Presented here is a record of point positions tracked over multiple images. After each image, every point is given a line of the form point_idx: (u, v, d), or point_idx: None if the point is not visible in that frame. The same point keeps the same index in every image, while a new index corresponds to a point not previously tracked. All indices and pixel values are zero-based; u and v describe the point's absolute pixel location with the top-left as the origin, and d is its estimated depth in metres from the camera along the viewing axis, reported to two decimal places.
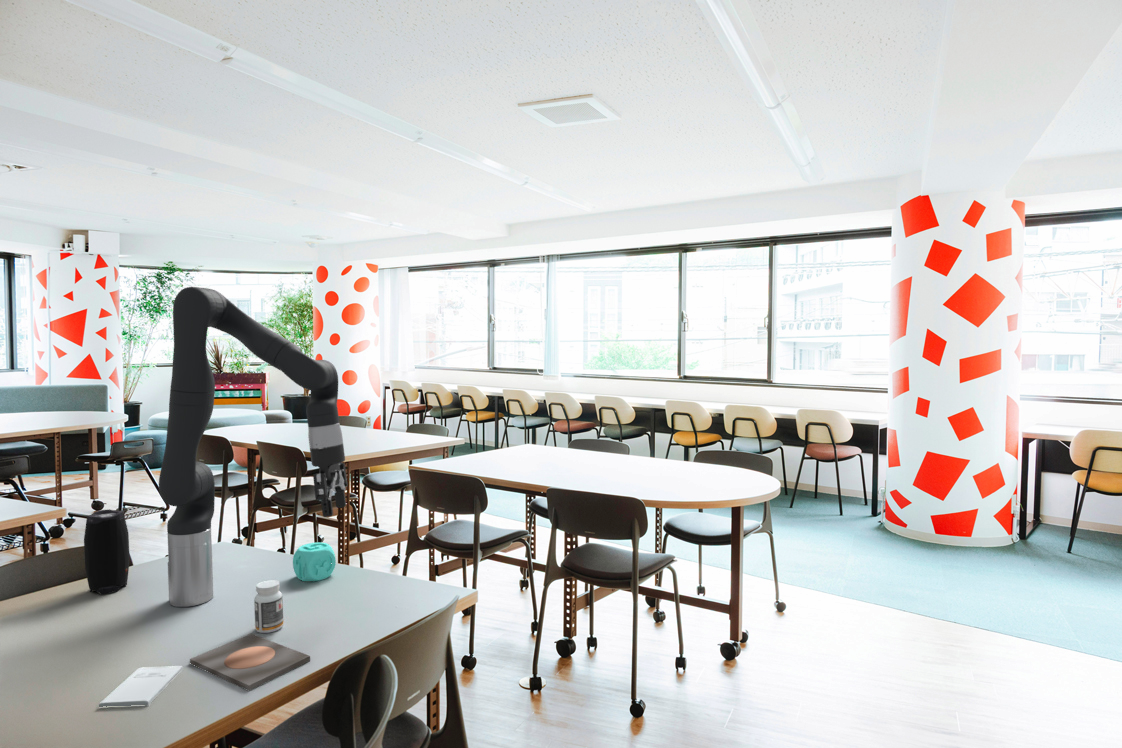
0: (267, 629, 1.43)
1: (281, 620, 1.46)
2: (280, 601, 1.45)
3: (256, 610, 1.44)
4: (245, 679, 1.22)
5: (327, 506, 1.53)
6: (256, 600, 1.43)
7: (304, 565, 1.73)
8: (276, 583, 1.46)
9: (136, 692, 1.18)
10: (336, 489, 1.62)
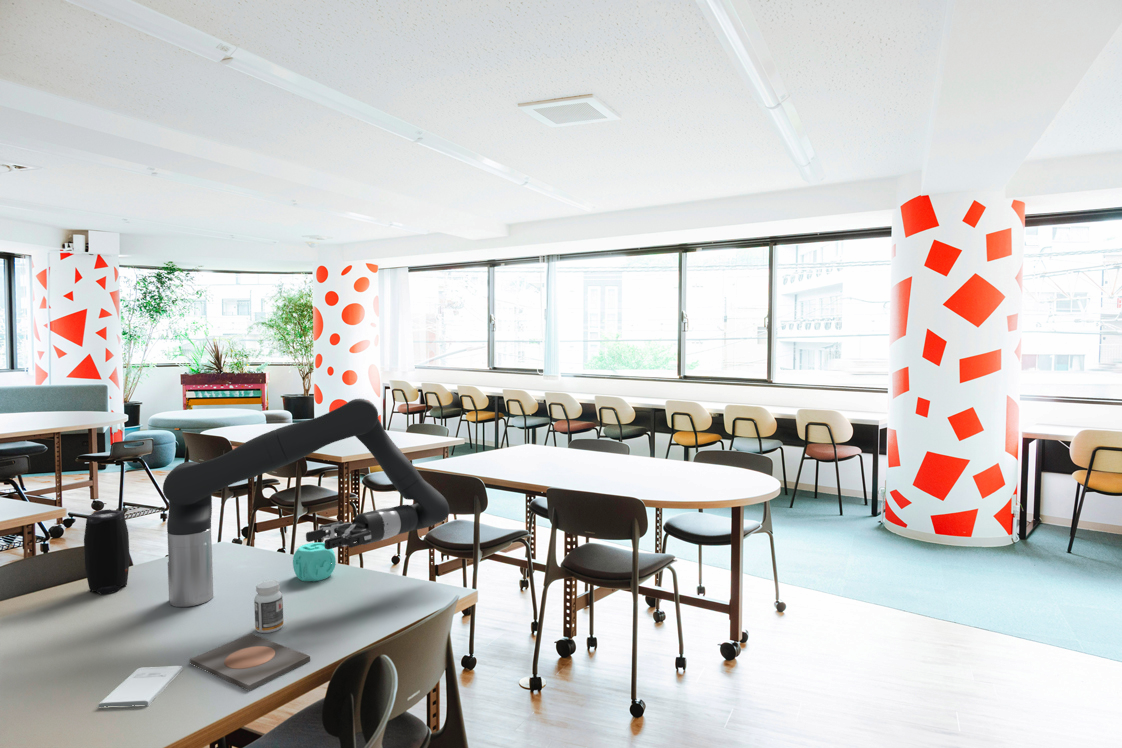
0: (267, 629, 1.43)
1: (281, 620, 1.46)
2: (280, 601, 1.45)
3: (256, 610, 1.44)
4: (245, 679, 1.22)
5: (337, 545, 1.52)
6: (256, 600, 1.43)
7: (304, 565, 1.73)
8: (276, 583, 1.46)
9: (135, 692, 1.18)
10: (324, 530, 1.59)
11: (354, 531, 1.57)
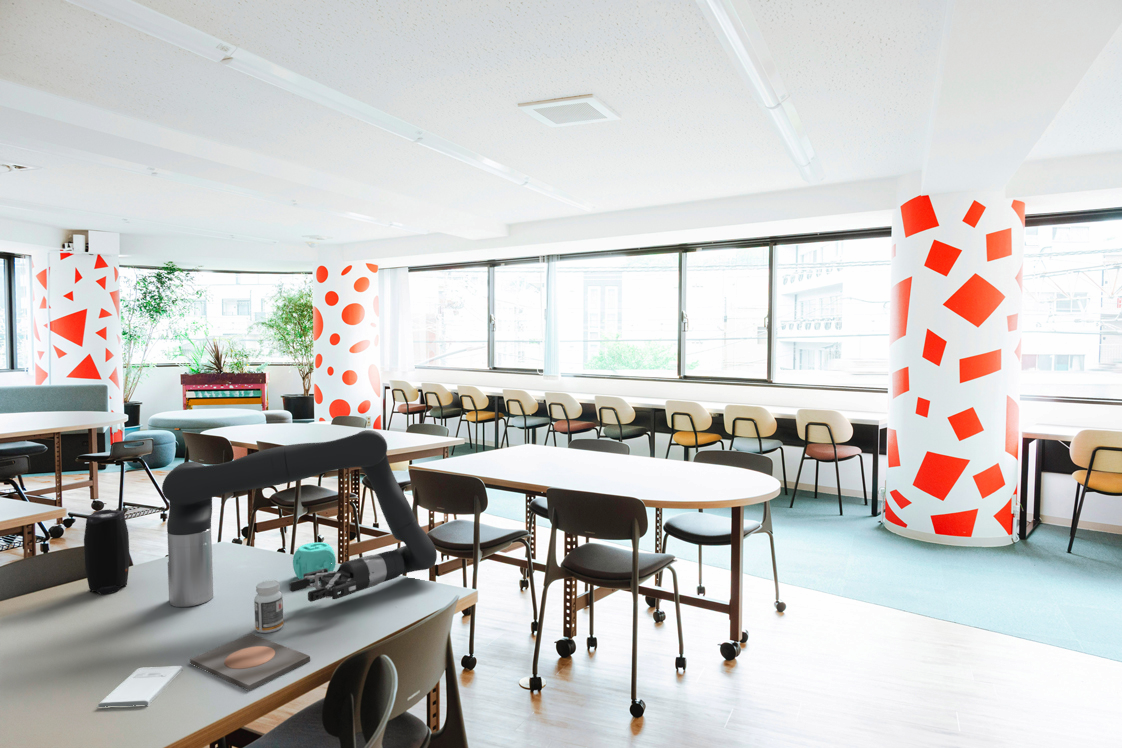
0: (267, 629, 1.43)
1: (281, 620, 1.46)
2: (280, 601, 1.45)
3: (256, 610, 1.44)
4: (245, 679, 1.22)
5: (321, 597, 1.49)
6: (256, 600, 1.43)
7: (304, 565, 1.73)
8: (276, 583, 1.46)
9: (135, 692, 1.18)
10: (309, 579, 1.57)
11: (338, 581, 1.55)
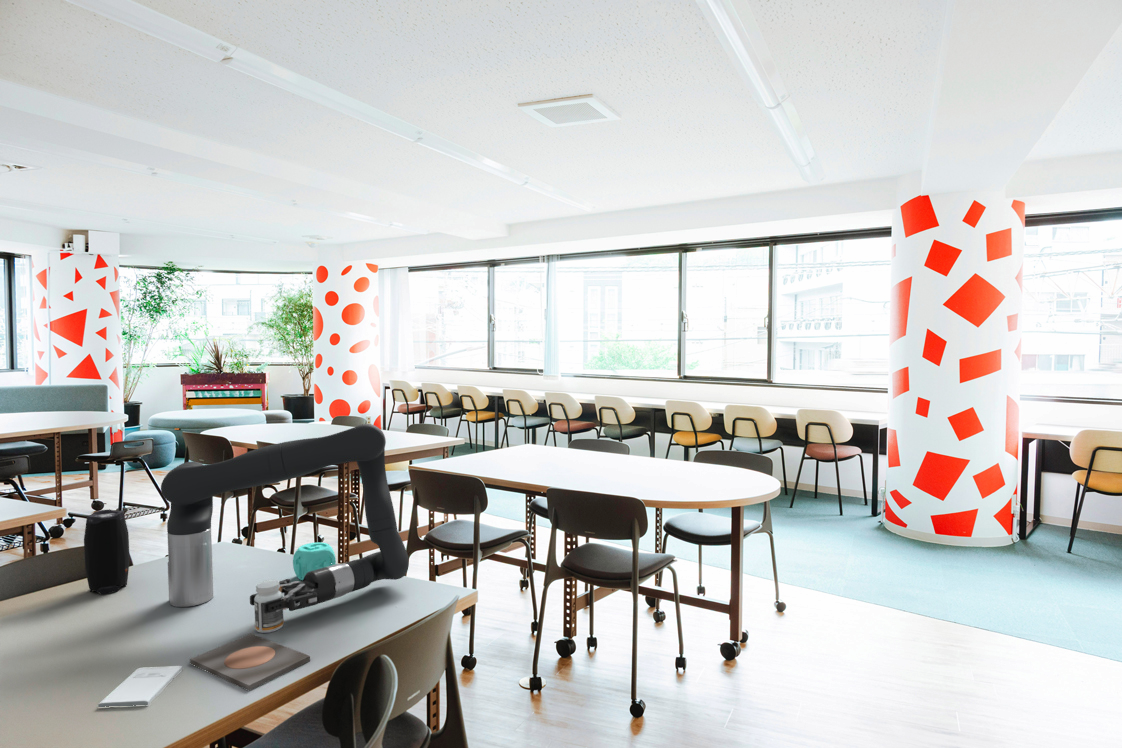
0: (267, 629, 1.43)
1: (281, 620, 1.46)
2: None
3: (256, 610, 1.44)
4: (245, 679, 1.22)
5: (277, 608, 1.43)
6: (256, 600, 1.43)
7: (304, 565, 1.73)
8: (276, 583, 1.46)
9: (135, 693, 1.18)
10: None
11: (300, 592, 1.48)
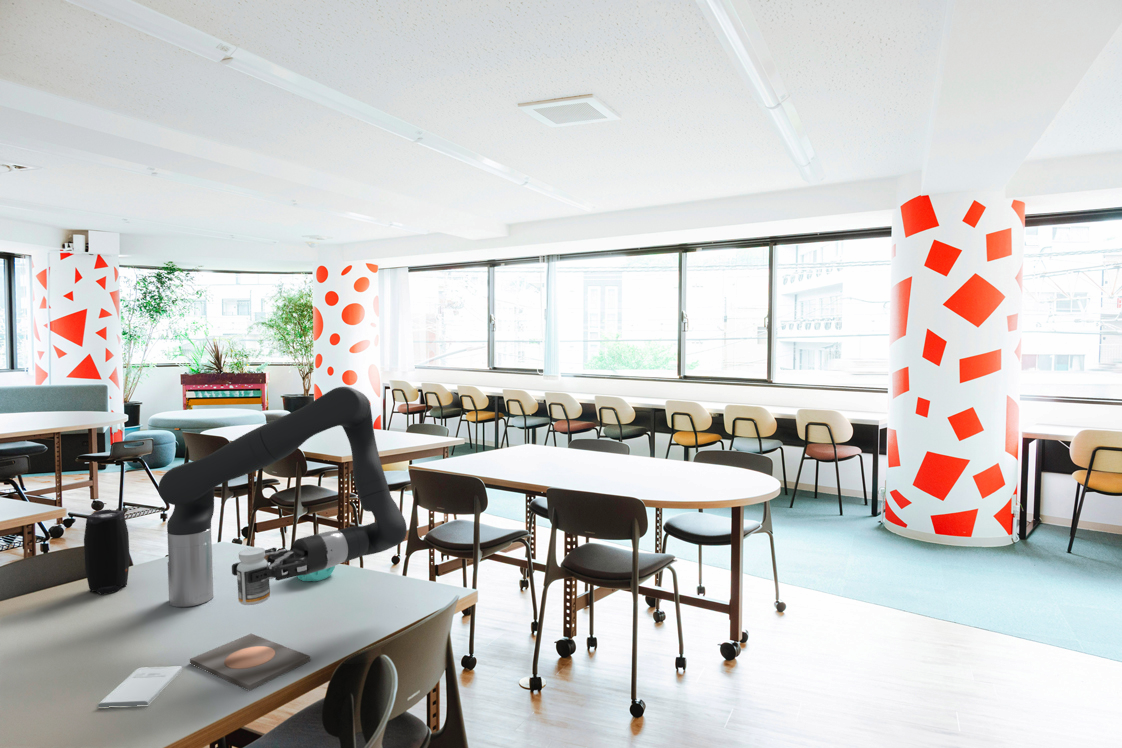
0: (252, 601, 1.29)
1: (267, 591, 1.31)
2: None
3: (239, 580, 1.29)
4: (245, 679, 1.22)
5: (262, 578, 1.29)
6: (239, 569, 1.29)
7: None
8: (261, 550, 1.31)
9: (135, 693, 1.18)
10: None
11: (288, 560, 1.34)
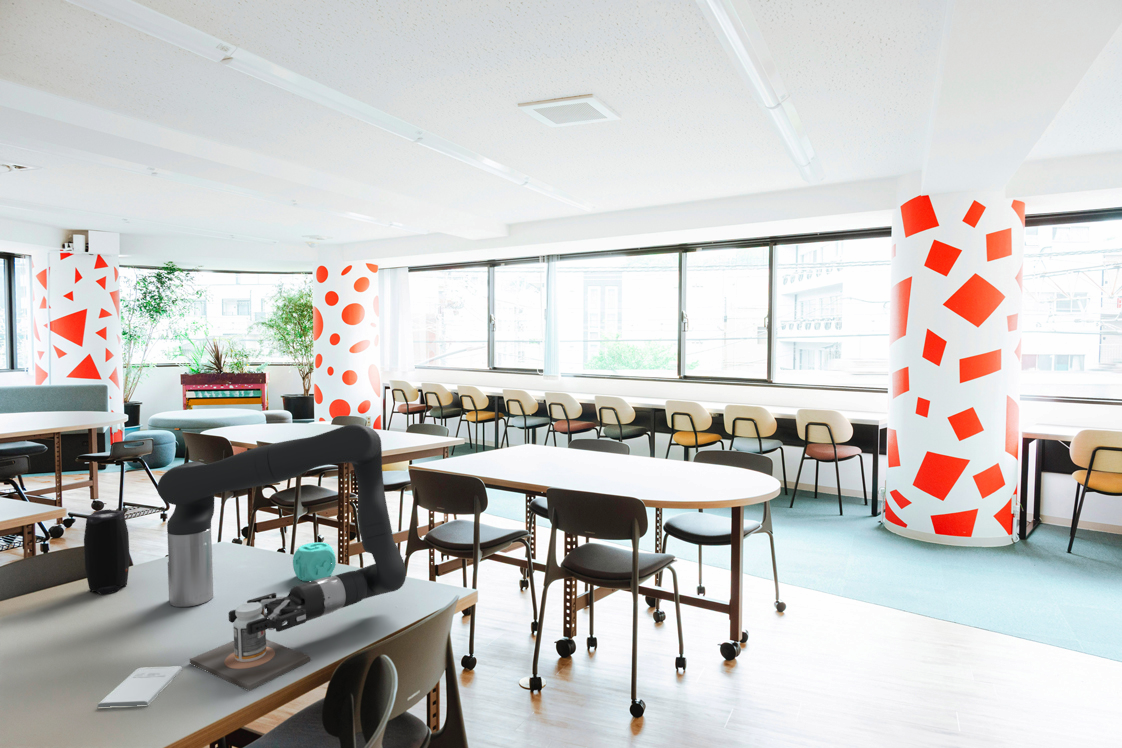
0: (248, 658, 1.28)
1: (263, 647, 1.31)
2: None
3: (235, 636, 1.28)
4: (245, 679, 1.22)
5: (262, 629, 1.27)
6: (235, 625, 1.28)
7: (304, 565, 1.73)
8: (258, 606, 1.31)
9: (135, 693, 1.18)
10: None
11: (286, 609, 1.33)
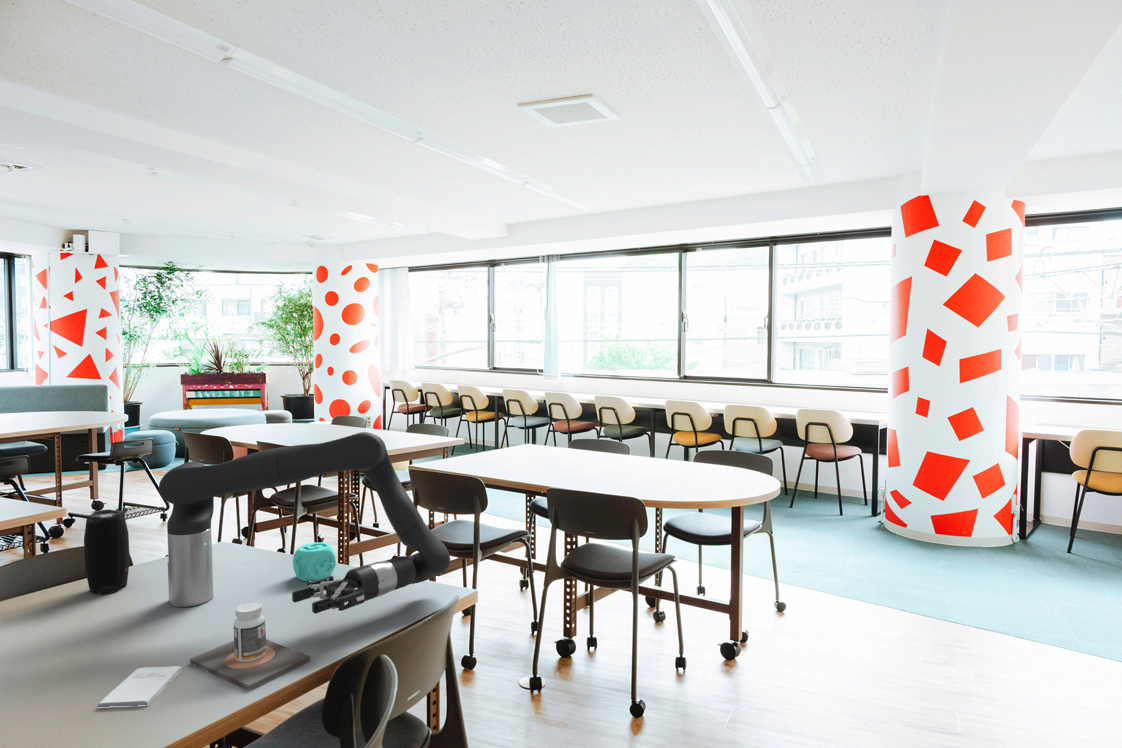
0: (248, 658, 1.28)
1: (264, 647, 1.31)
2: (262, 626, 1.30)
3: (235, 637, 1.28)
4: (245, 679, 1.22)
5: (326, 608, 1.37)
6: (235, 625, 1.28)
7: (304, 565, 1.73)
8: (258, 606, 1.31)
9: (135, 693, 1.18)
10: (313, 589, 1.44)
11: (345, 590, 1.42)
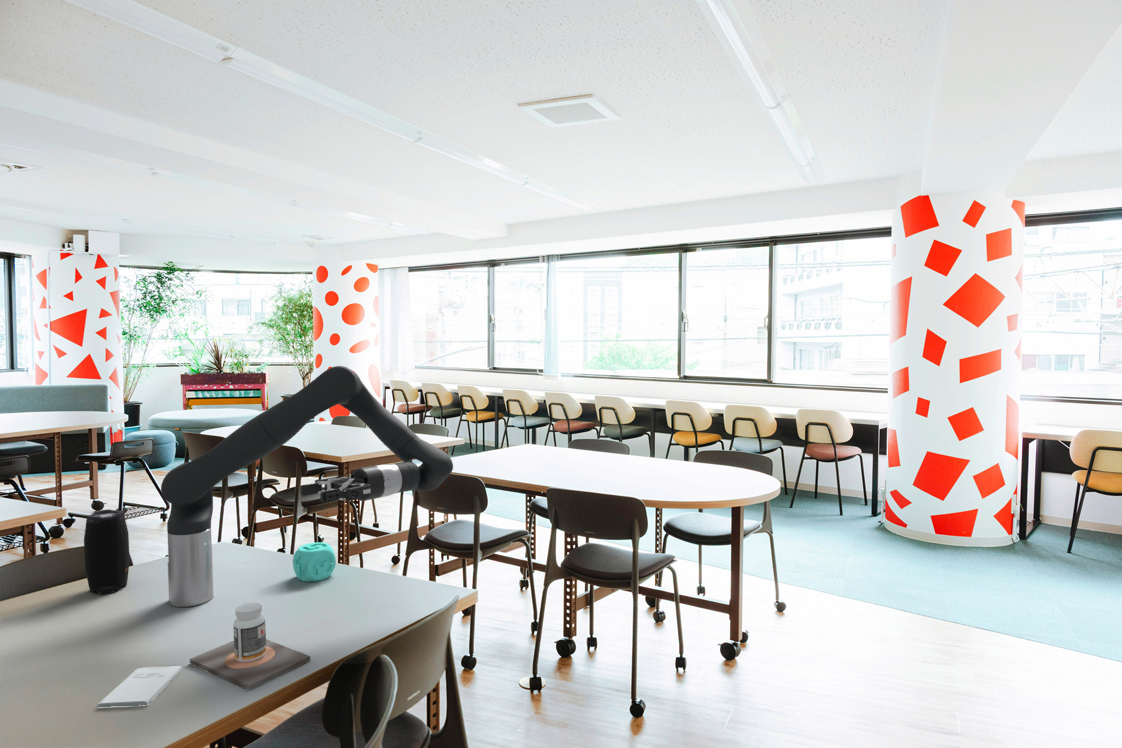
0: (248, 658, 1.28)
1: (264, 647, 1.31)
2: (262, 626, 1.30)
3: (235, 637, 1.28)
4: (245, 679, 1.22)
5: (334, 498, 1.41)
6: (235, 625, 1.28)
7: (304, 565, 1.73)
8: (258, 606, 1.31)
9: (134, 693, 1.18)
10: (320, 485, 1.49)
11: (352, 485, 1.47)
